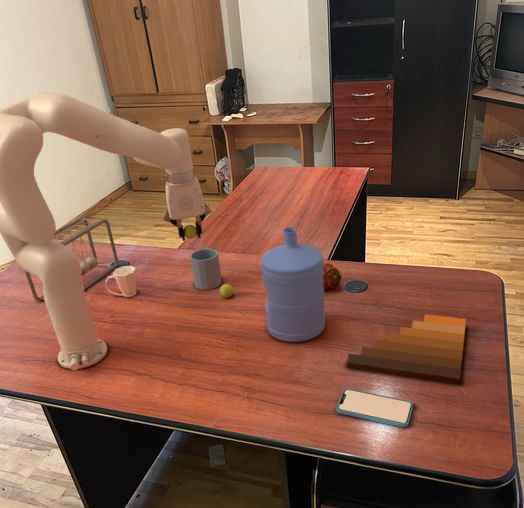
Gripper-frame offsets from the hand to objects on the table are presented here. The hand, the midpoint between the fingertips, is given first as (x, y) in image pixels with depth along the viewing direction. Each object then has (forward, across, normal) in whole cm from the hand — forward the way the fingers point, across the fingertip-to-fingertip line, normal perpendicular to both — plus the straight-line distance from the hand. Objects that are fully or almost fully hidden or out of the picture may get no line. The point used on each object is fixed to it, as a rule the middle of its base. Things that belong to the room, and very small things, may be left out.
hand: (191, 237), depth 159 cm
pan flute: (+18, +44, -50) cm, 69 cm away
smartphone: (+18, +27, -68) cm, 76 cm away
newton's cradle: (+18, -37, +21) cm, 46 cm away
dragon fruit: (+18, +35, -13) cm, 42 cm away
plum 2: (+18, +7, -7) cm, 21 cm away
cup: (+18, -23, +6) cm, 30 cm away
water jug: (+18, +21, -31) cm, 42 cm away
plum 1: (0, 0, 0) cm, 0 cm away
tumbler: (+18, +3, +4) cm, 19 cm away
